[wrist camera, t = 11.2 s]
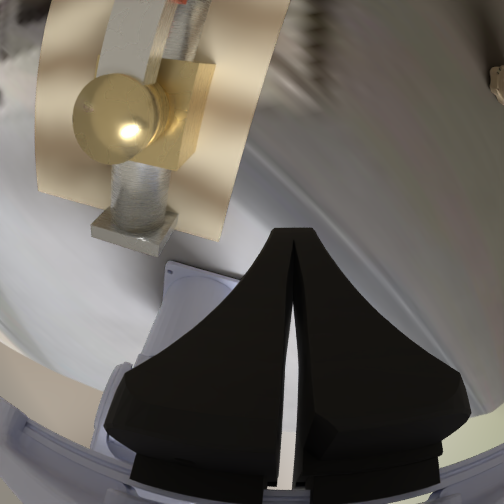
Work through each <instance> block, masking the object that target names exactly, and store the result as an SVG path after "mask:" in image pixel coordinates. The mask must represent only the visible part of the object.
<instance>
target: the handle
mask: <svg viewBox="0 0 504 504" xmlns="http://www.w3.org/2000/svg"><path fill="white" fill-rule="evenodd" d="M490 77H491V82H490V86H489V87H490V90H491V92H492V93H494V94H495V95H496V97H497V100H498V101H499V102H500V103H501V104H503V105H504V65H501V66H500V67H492V68H491V70H490Z"/></svg>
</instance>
